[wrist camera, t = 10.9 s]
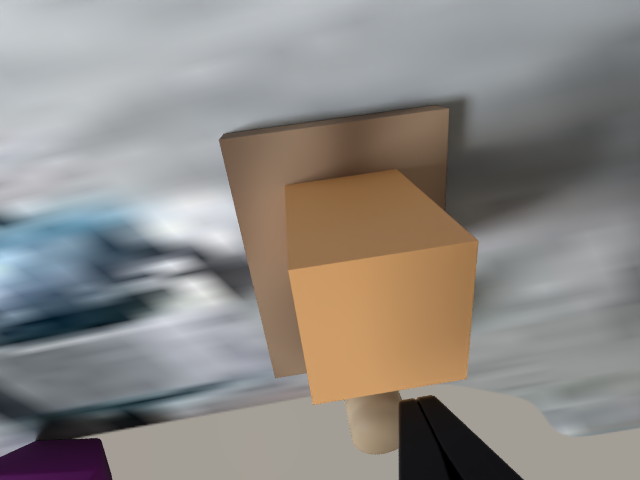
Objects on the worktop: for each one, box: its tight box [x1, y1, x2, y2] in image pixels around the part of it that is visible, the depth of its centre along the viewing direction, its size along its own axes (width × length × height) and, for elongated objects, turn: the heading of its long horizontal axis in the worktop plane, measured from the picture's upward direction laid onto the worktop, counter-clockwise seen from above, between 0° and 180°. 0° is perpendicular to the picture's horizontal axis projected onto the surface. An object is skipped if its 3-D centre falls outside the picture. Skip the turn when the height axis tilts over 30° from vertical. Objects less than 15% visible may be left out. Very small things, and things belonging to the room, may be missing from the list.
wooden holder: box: [219, 105, 449, 454], centre depth 16 cm, size 10×14×8 cm
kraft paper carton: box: [285, 169, 478, 405], centre depth 14 cm, size 5×5×8 cm
